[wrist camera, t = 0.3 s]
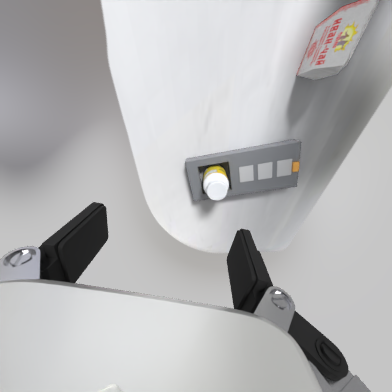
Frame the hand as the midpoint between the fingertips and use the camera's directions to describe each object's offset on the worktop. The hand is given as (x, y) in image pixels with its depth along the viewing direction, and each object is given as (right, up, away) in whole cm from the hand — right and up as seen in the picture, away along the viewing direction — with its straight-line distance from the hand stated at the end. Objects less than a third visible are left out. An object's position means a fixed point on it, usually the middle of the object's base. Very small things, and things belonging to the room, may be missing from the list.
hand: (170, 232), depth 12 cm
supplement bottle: (+6, +8, +29) cm, 31 cm away
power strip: (+12, +9, +28) cm, 32 cm away
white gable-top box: (+23, +28, +17) cm, 40 cm away
